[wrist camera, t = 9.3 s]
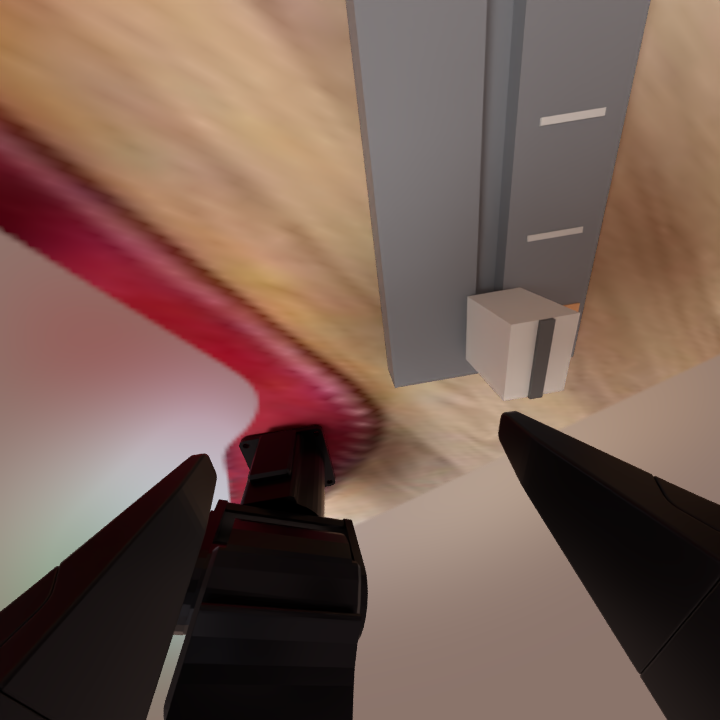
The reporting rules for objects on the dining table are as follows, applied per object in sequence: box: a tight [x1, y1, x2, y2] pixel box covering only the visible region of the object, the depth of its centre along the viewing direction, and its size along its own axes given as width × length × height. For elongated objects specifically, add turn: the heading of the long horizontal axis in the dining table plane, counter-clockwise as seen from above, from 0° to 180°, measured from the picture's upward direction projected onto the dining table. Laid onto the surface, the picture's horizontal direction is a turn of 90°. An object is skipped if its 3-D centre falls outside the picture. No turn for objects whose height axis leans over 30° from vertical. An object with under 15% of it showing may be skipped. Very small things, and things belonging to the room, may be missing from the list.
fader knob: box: [466, 287, 580, 401], centre depth 16 cm, size 4×3×6 cm
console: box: [346, 0, 651, 388], centre depth 16 cm, size 20×12×3 cm, turn 8°
